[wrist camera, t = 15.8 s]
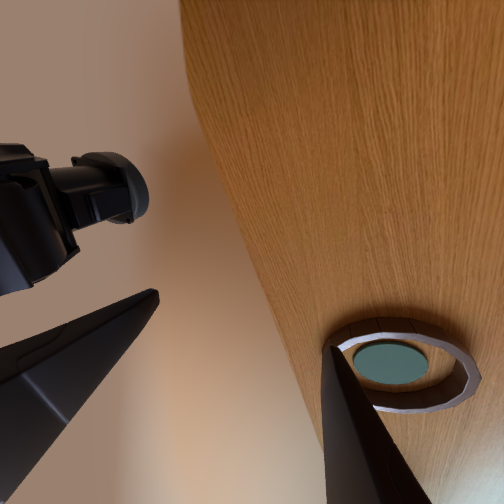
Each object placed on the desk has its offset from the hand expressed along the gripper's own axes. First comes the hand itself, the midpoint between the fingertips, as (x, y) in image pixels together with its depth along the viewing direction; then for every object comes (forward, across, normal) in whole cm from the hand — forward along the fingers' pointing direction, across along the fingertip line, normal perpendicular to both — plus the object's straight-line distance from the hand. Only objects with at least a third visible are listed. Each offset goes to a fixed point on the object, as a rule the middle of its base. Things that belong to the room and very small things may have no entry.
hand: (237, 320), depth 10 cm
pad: (+12, -18, +14) cm, 26 cm away
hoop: (+12, -18, +14) cm, 26 cm away
